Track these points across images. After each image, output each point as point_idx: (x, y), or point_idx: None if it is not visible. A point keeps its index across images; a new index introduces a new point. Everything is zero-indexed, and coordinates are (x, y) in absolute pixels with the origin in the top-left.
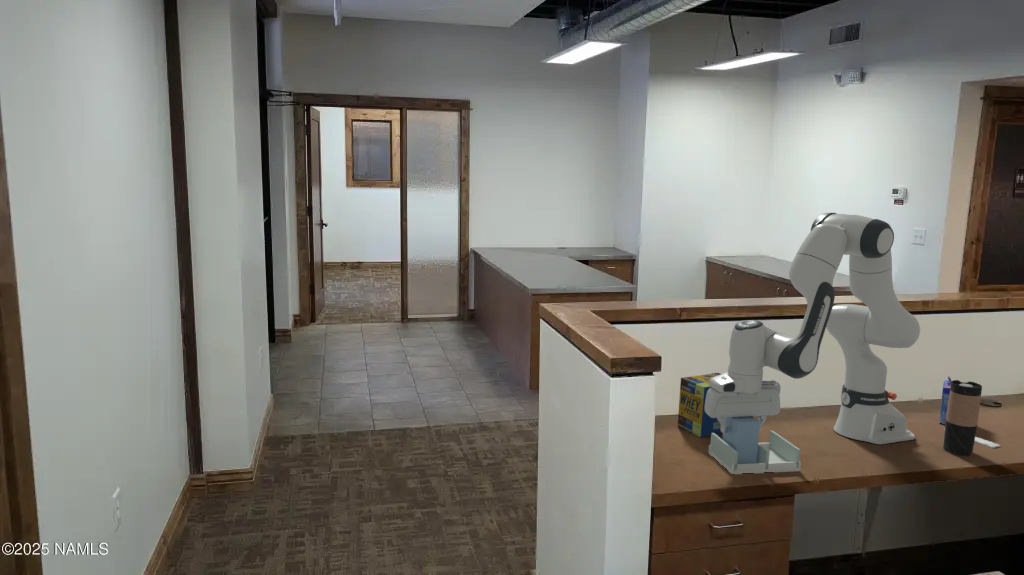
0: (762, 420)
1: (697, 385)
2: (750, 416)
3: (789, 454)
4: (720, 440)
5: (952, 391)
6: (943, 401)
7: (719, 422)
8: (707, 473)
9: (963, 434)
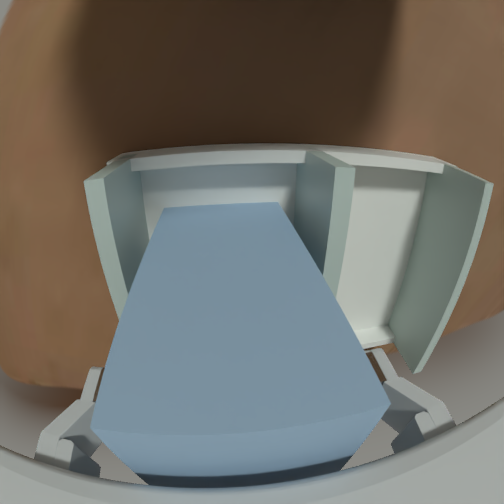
0: (396, 428)
1: None
2: (327, 470)
3: (411, 314)
4: (115, 308)
5: None
6: None
7: (65, 418)
8: (84, 329)
9: None
